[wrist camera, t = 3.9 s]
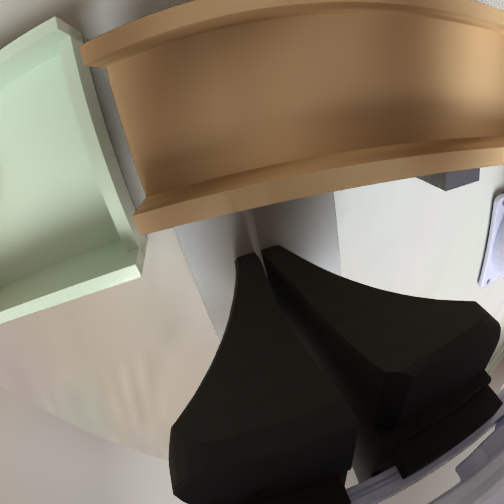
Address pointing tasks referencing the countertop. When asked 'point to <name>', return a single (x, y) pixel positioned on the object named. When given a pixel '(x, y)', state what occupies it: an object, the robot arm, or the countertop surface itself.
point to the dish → (58, 179)
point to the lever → (295, 116)
